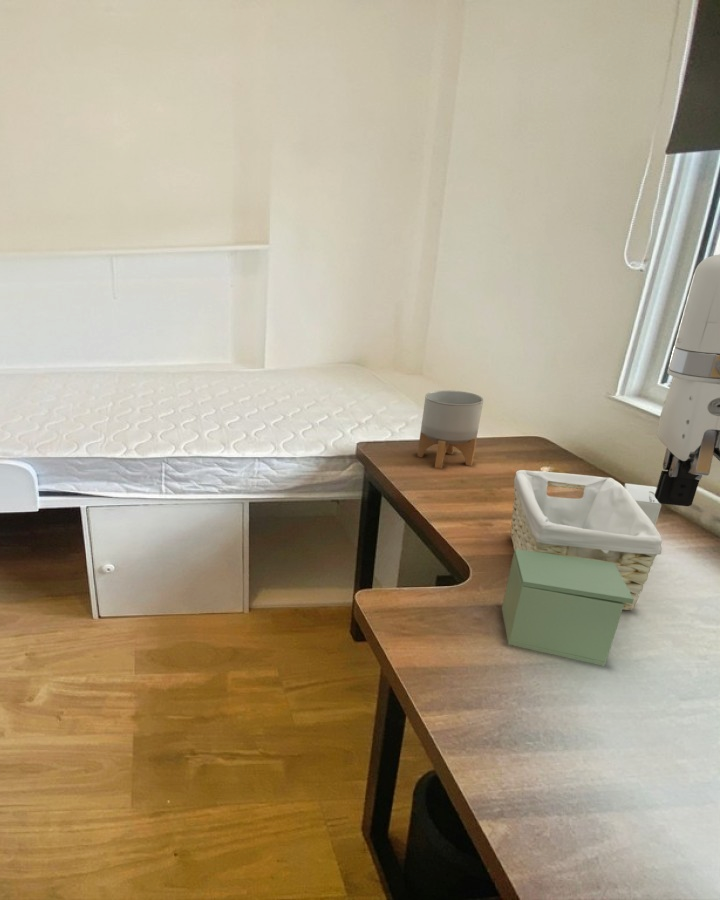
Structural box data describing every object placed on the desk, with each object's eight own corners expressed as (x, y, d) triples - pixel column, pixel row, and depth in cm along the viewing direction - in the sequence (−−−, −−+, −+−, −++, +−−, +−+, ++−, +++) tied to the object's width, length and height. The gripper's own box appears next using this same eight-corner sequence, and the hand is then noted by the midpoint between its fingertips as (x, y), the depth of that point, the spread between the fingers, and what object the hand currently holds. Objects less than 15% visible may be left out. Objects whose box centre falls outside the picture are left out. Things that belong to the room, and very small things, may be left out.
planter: (476, 457, 149) (488, 394, 143) (465, 473, 141) (477, 407, 134) (424, 448, 158) (432, 388, 151) (411, 463, 149) (419, 400, 142)
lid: (613, 567, 83) (614, 562, 83) (632, 604, 75) (634, 599, 75) (513, 553, 89) (514, 548, 88) (522, 586, 81) (522, 581, 81)
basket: (643, 620, 88) (671, 540, 82) (520, 599, 94) (538, 523, 89) (599, 545, 108) (618, 476, 102) (500, 532, 114) (513, 467, 109)
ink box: (609, 534, 111) (625, 481, 106) (643, 541, 108) (660, 486, 103) (610, 554, 105) (626, 498, 100) (645, 561, 102) (663, 504, 97)
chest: (589, 625, 87) (606, 568, 84) (604, 666, 80) (624, 604, 76) (501, 608, 93) (513, 553, 89) (508, 644, 85) (521, 586, 81)
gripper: (792, 380, 57) (737, 534, 64) (731, 350, 69) (690, 482, 76) (694, 378, 61) (651, 524, 67) (652, 350, 73) (619, 476, 79)
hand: (672, 502), depth 72 cm, fingers closed
